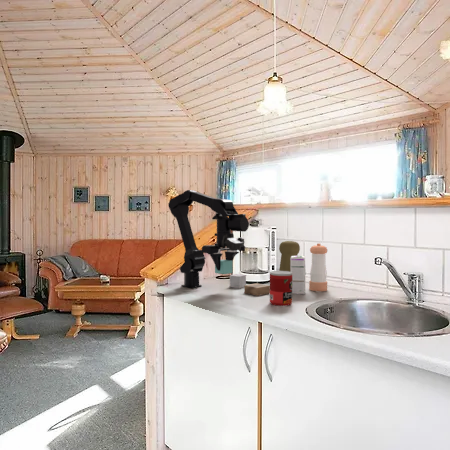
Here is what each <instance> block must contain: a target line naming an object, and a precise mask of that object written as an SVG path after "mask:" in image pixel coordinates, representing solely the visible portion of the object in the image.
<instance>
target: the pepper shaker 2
mask: <svg viewBox="0 0 450 450" xmlns="http://www.w3.org/2000/svg"><path fill="white" fill-rule="evenodd" d="M309 251H310V253H311V266H310V272H309V277H310V278H309V283H308V284H309V285H308V290H309V291H313V292H327V291H328V281H327V274H328V273H327V265H326V254H327V253H328V248H327V247H326V246H325V245H321V243H320V242H319V243H317V244H316V245H312V246H310V249H309Z"/></svg>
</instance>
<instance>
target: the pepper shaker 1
mask: <svg viewBox="0 0 450 450" xmlns="http://www.w3.org/2000/svg"><path fill="white" fill-rule="evenodd" d="M278 250H279V253H280V262H279V268H278V269H279V270H278V271H289V272H290V258H291V256H299V255H298V254H299V253H300V250H301V246H300V243H299V242H298V241H293V240H286V241H281V242H280V244H279V246H278Z"/></svg>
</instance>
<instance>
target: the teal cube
mask: <svg viewBox="0 0 450 450" xmlns="http://www.w3.org/2000/svg"><path fill="white" fill-rule="evenodd" d="M233 263H234V260H233V261H232V260H226V259H221V263H220V271H219V270H217V268H216V266H215V265H214V273H215V274H219V275H228V274H230V275H231V274H233V270H234V269H233V268H234V267H233Z"/></svg>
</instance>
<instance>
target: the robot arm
mask: <svg viewBox="0 0 450 450" xmlns="http://www.w3.org/2000/svg"><path fill="white" fill-rule="evenodd" d="M194 202H195V203H198V204H201V205H203V206H205V207H208V208H210V210H211V211H213V212H215V215H214V216H213V217H212V220H216V233H215V232H214V236H215V237H216V243H214V245H213V244H206V245H202V247H201V249H199V248H198V247H197V244H196V241H195V237H194V233H193V230H192V226H191V223H190V220H189V211H190V206H191V205H193V203H194ZM168 209H169V211H170V213H171V215H172V216H173V217H174V218H175V219H176V222H177V225H178V226H177V227H178V229H179V232H180V235H181V239H182V243H183V246H184V254H183V255H184V256H183V260H184V262H183V264H182V265H181V266H180V267H179V270H180V273H181V274H183V276H184V277H183V283H184V284H181V285H180V287H184V288H188V289H194V288H199V287H202V284H200V272H203V269H204V266H205V264H206V257H205V255H204V254H207V255H209V256H210V257H211V259H212V261H213V263H214V267H215V266H216V268H217V270H219V271H220V263H221V260H222V259H221V257H222V256H223V253H222V252H223V251H224V255H225V256H224V257H225V260H232V261H233V262H234V259H235V257H236V255H238V254H239V253H240V252H244V251H245V249H246V247H245V238H244V237H237V238H235V237H234V233H232V232H247V231H248V229H249V227H250V222H249V219H248V218H247V217H246V216H247V215H246V213H238V211H237V209H236V208H235V206H234V203H233V200H231V199H227V198H225V199H224V198H215V197H213V196H209V195H207V194H204V193H201V192H198V191H196V190H193V189H192V190H191V189H187V190H185V191H184V192H182V193H180V194H178V195H176V196H174V197H172V198H171V199H170V200H169V202H168ZM221 251H222V252H221Z"/></svg>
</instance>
